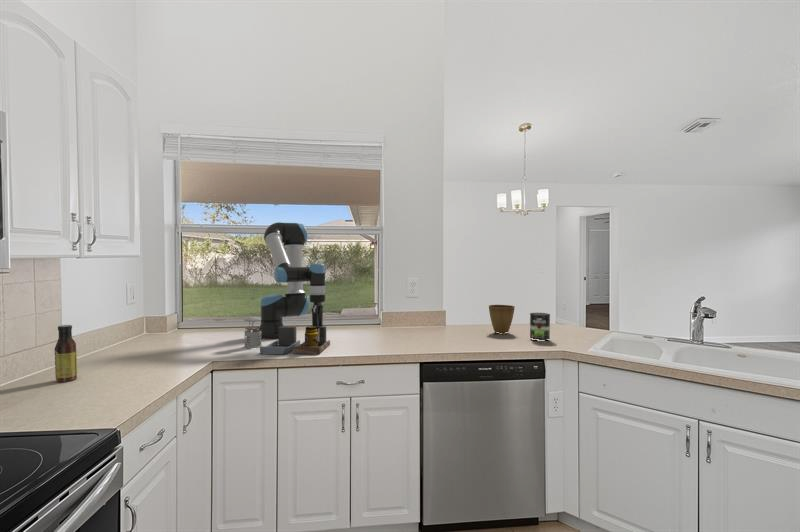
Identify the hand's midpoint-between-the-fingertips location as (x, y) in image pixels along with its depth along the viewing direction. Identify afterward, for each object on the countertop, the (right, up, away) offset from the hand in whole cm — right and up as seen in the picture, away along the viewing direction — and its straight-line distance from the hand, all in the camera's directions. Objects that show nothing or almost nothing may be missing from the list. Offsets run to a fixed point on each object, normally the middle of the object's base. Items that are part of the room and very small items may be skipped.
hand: (317, 340), depth 217 cm
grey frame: (-16, -3, -10) cm, 19 cm away
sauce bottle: (-79, -4, -62) cm, 100 cm away
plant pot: (+101, -2, +37) cm, 108 cm away
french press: (-32, -3, -3) cm, 32 cm away
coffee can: (+117, -2, +16) cm, 118 cm away
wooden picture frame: (-1, -2, -9) cm, 10 cm away
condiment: (-1, -3, -15) cm, 16 cm away
